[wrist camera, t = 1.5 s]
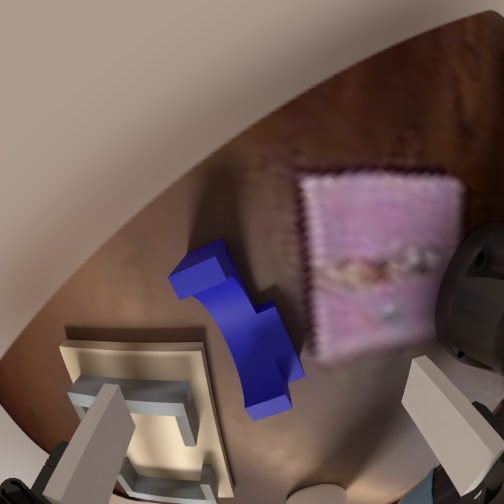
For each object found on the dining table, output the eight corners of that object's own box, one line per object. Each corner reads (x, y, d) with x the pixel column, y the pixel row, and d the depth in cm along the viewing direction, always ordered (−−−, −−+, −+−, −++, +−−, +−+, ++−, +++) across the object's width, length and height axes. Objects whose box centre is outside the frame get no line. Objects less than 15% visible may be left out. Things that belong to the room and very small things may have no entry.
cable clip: (299, 356, 24) (312, 400, 18) (251, 374, 24) (253, 421, 19) (241, 229, 22) (240, 245, 16) (187, 253, 22) (167, 277, 16)
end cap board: (203, 341, 23) (195, 372, 19) (234, 488, 29) (233, 514, 24) (66, 339, 23) (43, 362, 19) (134, 481, 28) (127, 504, 24)
